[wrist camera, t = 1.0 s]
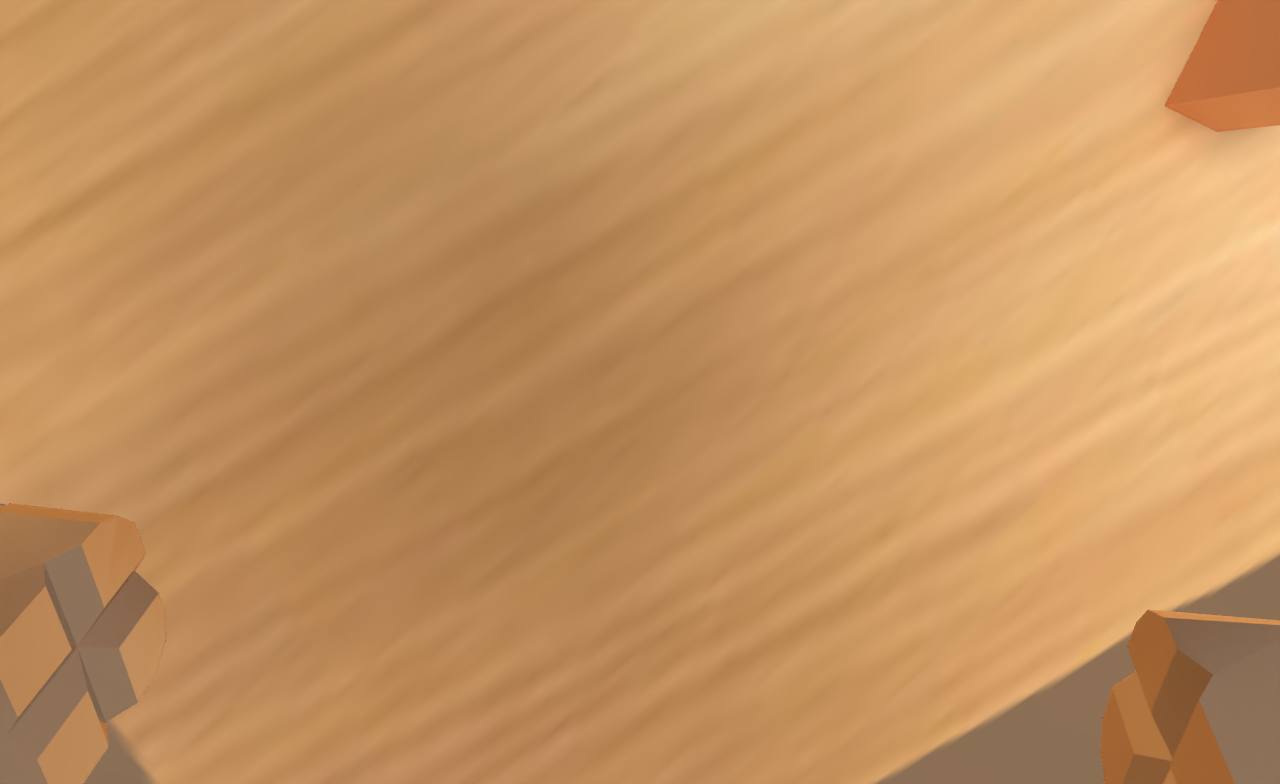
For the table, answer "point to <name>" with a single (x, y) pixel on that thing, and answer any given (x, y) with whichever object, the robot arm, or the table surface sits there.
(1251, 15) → the tile panel
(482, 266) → the table surface
